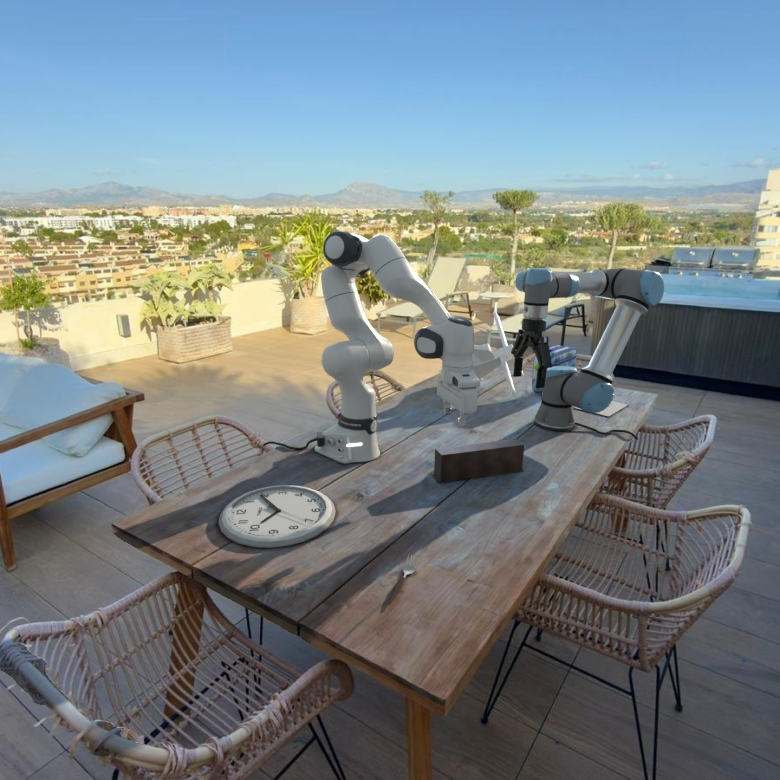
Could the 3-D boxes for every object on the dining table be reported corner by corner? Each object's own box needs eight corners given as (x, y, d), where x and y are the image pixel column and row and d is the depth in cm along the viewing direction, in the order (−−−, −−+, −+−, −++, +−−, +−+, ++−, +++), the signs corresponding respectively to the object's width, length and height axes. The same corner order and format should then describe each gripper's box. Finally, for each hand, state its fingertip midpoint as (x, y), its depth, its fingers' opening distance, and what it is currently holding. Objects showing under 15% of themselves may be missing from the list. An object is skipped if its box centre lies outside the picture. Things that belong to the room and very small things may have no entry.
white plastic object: (461, 429, 252) (437, 405, 227) (444, 352, 274) (420, 323, 250) (535, 404, 240) (518, 377, 215) (510, 326, 262) (492, 293, 237)
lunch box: (548, 398, 236) (553, 353, 229) (527, 393, 243) (531, 349, 237) (575, 387, 253) (581, 344, 247) (555, 382, 260) (560, 341, 254)
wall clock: (334, 539, 124) (204, 543, 122) (334, 545, 125) (205, 549, 122) (336, 480, 153) (231, 483, 150) (336, 485, 153) (231, 488, 151)
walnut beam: (513, 464, 170) (516, 438, 167) (521, 471, 165) (524, 444, 162) (433, 475, 161) (435, 448, 158) (440, 482, 157) (441, 455, 154)
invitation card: (608, 416, 214) (573, 407, 224) (608, 416, 214) (573, 408, 224) (628, 404, 229) (594, 396, 238) (628, 405, 229) (594, 397, 238)
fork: (383, 605, 105) (383, 597, 105) (407, 560, 120) (408, 552, 119) (395, 608, 104) (395, 600, 104) (418, 562, 119) (419, 555, 118)
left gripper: (432, 365, 159) (431, 408, 163) (462, 384, 140) (459, 432, 144) (451, 364, 161) (449, 407, 165) (483, 382, 142) (479, 430, 146)
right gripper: (504, 312, 177) (499, 372, 183) (547, 325, 154) (539, 393, 161) (523, 311, 179) (518, 371, 185) (568, 324, 156) (560, 391, 163)
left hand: (454, 419), depth 154 cm, fingers open, 8 cm apart
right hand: (528, 381), depth 173 cm, fingers open, 13 cm apart
